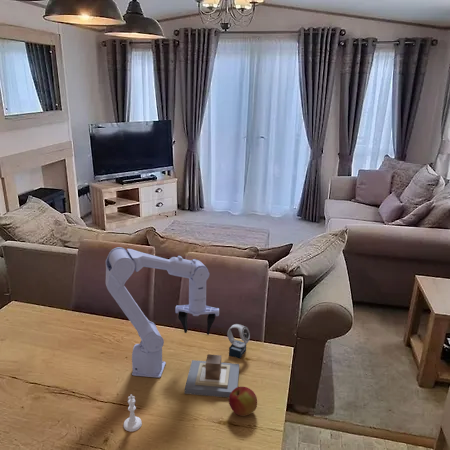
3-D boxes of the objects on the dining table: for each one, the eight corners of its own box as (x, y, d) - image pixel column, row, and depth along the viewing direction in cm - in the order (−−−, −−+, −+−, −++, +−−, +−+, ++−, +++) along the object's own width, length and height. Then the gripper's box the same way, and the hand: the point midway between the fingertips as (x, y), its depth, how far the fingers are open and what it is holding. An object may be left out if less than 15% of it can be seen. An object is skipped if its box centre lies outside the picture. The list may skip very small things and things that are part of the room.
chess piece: (124, 418, 117) (123, 388, 114) (142, 417, 118) (141, 388, 114) (122, 432, 112) (120, 401, 109) (140, 431, 113) (139, 401, 110)
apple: (236, 399, 126) (237, 377, 123) (260, 409, 122) (262, 387, 119) (223, 415, 119) (224, 392, 117) (248, 426, 116) (250, 403, 113)
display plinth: (184, 393, 127) (184, 386, 126) (192, 365, 141) (192, 358, 140) (236, 398, 126) (236, 390, 125) (239, 369, 139) (239, 362, 139)
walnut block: (205, 379, 131) (205, 362, 129) (207, 370, 135) (207, 354, 133) (219, 380, 130) (220, 364, 129) (220, 371, 135) (221, 355, 133)
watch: (245, 360, 144) (246, 332, 141) (224, 354, 147) (225, 326, 144) (251, 351, 149) (252, 325, 146) (230, 345, 152) (231, 319, 149)
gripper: (173, 300, 134) (173, 337, 138) (218, 303, 133) (217, 340, 137) (177, 290, 140) (177, 325, 145) (220, 293, 139) (219, 328, 144)
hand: (197, 332), depth 141 cm, fingers open, 7 cm apart
